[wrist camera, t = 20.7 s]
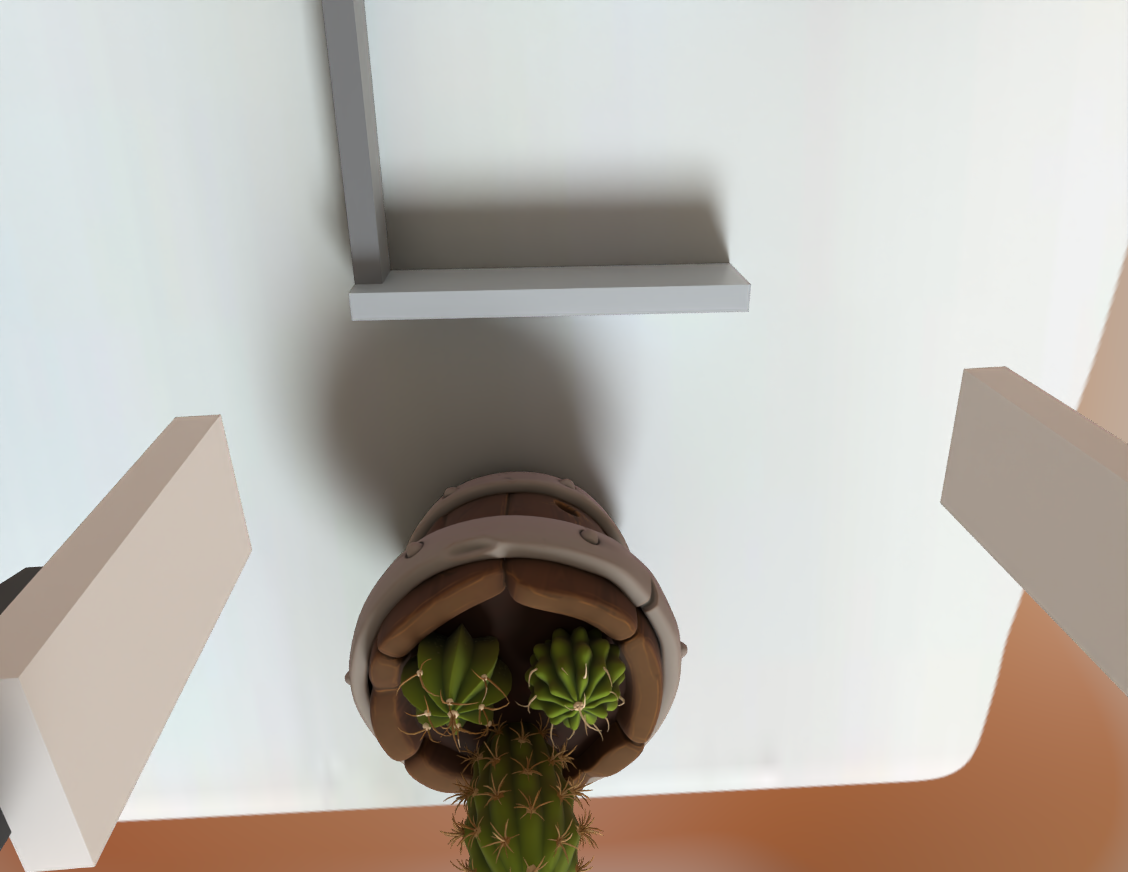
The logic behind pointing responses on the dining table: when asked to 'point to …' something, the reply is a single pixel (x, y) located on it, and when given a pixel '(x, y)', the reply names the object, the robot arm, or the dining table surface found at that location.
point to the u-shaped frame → (479, 287)
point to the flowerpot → (516, 662)
